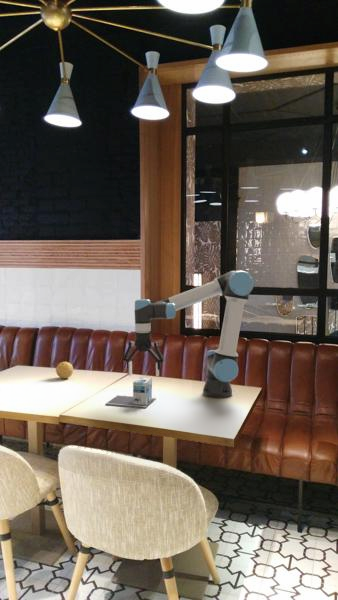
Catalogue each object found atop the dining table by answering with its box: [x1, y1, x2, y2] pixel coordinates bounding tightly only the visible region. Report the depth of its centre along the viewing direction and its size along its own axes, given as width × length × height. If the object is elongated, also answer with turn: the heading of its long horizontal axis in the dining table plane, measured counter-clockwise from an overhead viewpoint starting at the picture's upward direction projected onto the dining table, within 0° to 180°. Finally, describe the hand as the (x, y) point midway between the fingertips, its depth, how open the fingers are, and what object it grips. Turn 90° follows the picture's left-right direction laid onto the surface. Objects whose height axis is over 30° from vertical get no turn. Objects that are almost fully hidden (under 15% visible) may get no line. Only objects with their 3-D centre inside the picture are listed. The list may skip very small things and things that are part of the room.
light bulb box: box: [132, 377, 153, 405], centre depth 230 cm, size 11×7×11 cm, turn 167°
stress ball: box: [55, 361, 74, 380], centre depth 280 cm, size 10×10×10 cm
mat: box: [105, 394, 156, 409], centre depth 232 cm, size 20×16×1 cm
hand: (143, 375), depth 229 cm, fingers open, 13 cm apart
